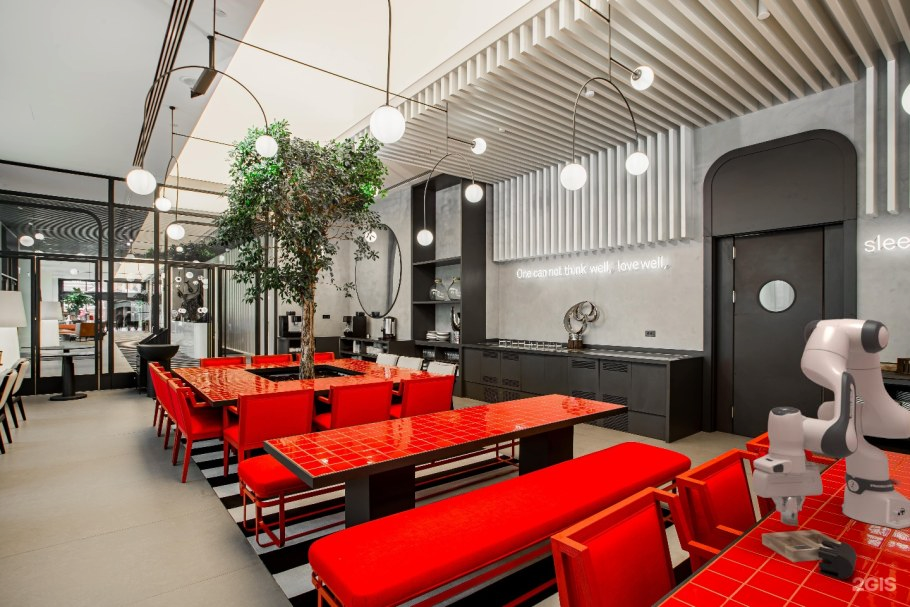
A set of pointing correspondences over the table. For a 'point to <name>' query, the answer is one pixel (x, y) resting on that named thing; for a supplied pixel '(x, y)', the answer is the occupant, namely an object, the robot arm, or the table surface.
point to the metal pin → (789, 511)
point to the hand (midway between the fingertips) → (788, 510)
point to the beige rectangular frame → (797, 544)
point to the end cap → (837, 559)
